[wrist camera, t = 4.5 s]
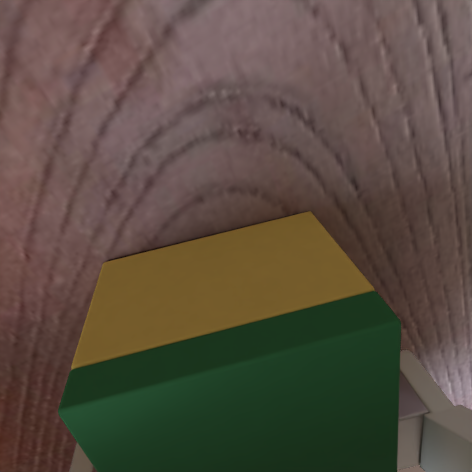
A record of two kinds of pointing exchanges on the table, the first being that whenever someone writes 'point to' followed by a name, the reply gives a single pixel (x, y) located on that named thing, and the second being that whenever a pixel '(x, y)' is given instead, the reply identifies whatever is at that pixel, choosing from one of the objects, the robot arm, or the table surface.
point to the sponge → (237, 359)
